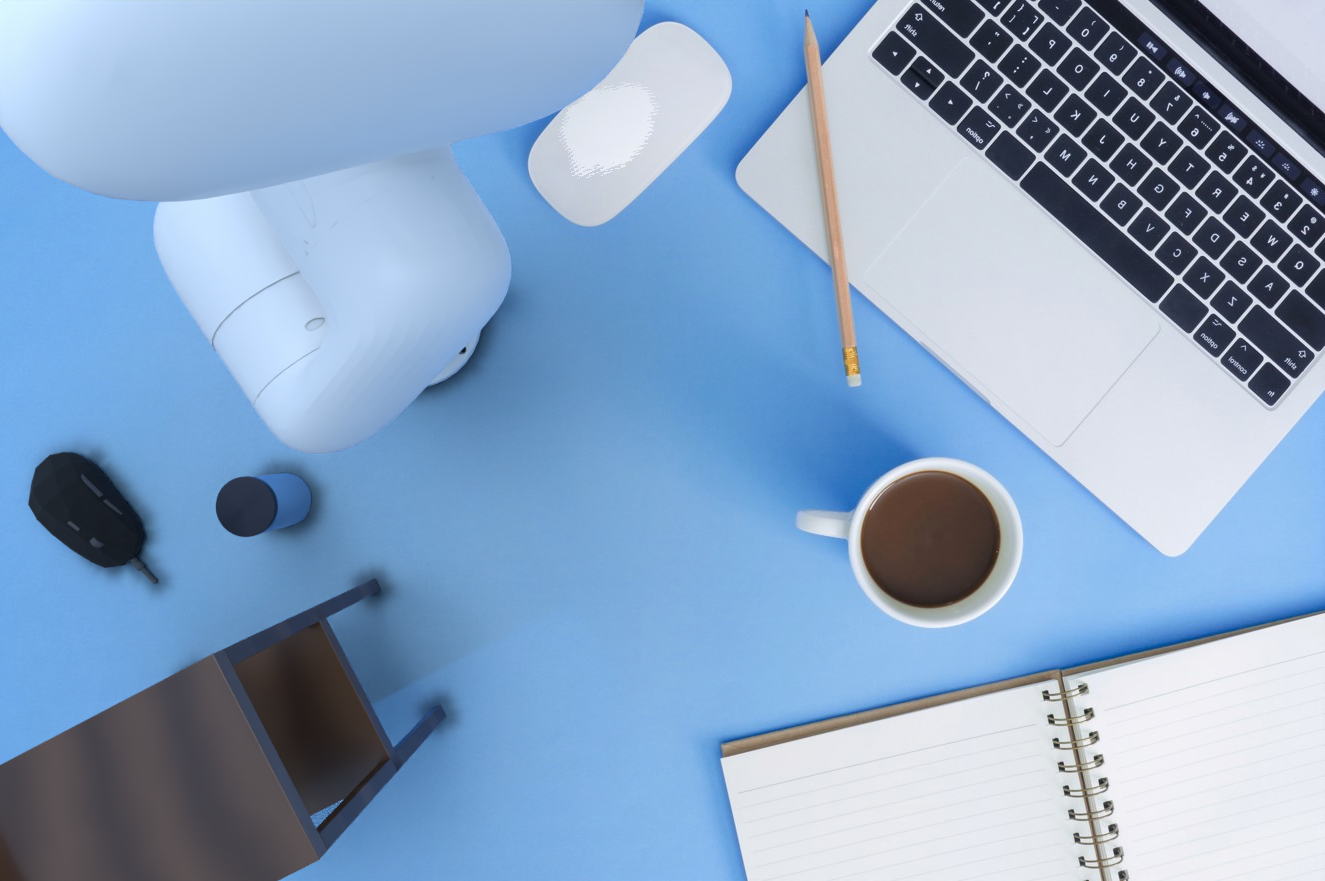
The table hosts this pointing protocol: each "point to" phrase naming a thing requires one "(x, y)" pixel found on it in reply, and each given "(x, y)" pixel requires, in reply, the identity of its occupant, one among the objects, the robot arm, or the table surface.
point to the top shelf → (158, 792)
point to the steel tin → (262, 503)
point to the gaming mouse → (85, 511)
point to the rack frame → (322, 713)
